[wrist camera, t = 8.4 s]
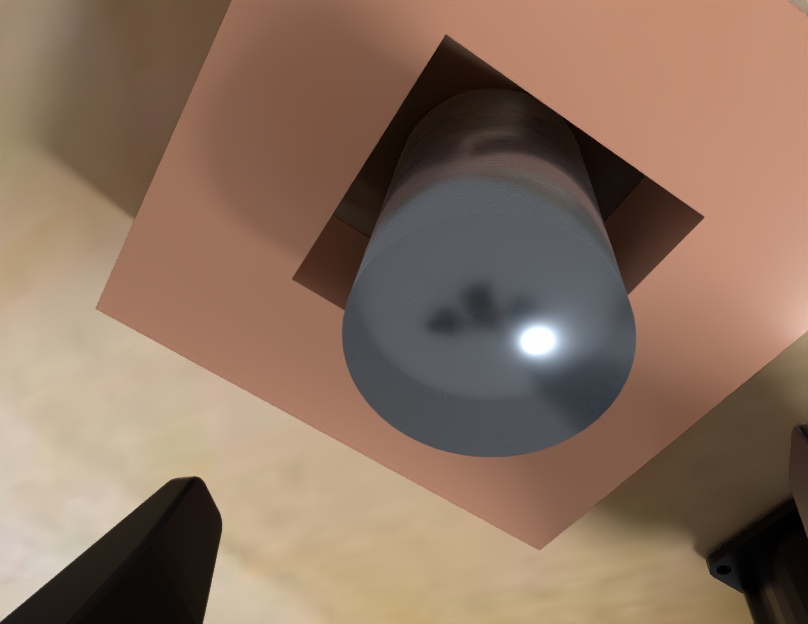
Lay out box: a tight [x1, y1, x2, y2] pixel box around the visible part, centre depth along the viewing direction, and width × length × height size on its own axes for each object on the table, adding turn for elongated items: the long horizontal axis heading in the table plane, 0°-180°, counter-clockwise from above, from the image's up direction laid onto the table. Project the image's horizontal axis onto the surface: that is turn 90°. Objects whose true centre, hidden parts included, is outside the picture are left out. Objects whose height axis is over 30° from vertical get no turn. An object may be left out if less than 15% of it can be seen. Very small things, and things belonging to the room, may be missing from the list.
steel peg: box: [342, 88, 636, 457], centre depth 15 cm, size 5×5×8 cm
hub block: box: [95, 0, 808, 550], centre depth 17 cm, size 14×14×4 cm
